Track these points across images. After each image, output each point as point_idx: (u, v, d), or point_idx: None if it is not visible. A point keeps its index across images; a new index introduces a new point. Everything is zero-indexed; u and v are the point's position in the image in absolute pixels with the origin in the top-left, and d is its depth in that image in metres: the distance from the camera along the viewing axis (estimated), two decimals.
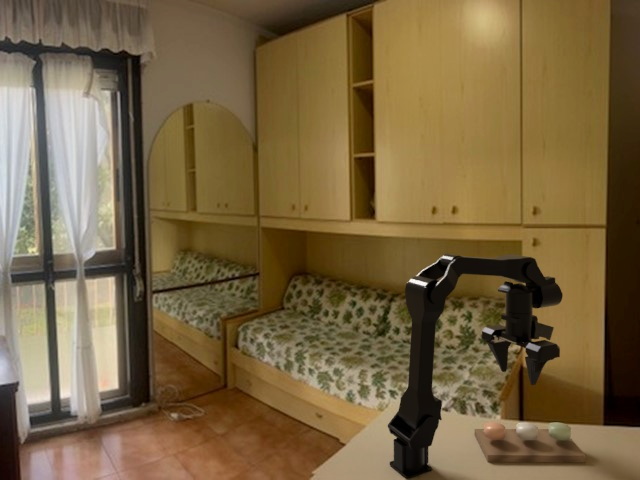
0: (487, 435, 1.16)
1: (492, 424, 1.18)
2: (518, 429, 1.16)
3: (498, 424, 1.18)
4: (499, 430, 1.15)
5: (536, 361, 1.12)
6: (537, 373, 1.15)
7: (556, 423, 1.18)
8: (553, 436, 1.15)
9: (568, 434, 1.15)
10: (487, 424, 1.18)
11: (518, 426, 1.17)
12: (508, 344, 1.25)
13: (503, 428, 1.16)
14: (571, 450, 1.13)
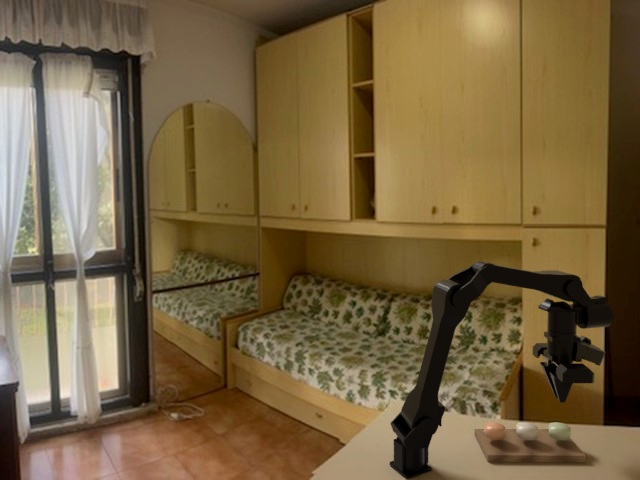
0: (487, 435, 1.16)
1: (492, 424, 1.18)
2: (518, 429, 1.16)
3: (498, 424, 1.18)
4: (499, 430, 1.15)
5: (557, 377, 1.11)
6: (564, 390, 1.13)
7: (556, 423, 1.18)
8: (553, 436, 1.15)
9: (568, 434, 1.15)
10: (487, 424, 1.18)
11: (518, 426, 1.17)
12: None
13: (503, 428, 1.16)
14: (571, 450, 1.13)
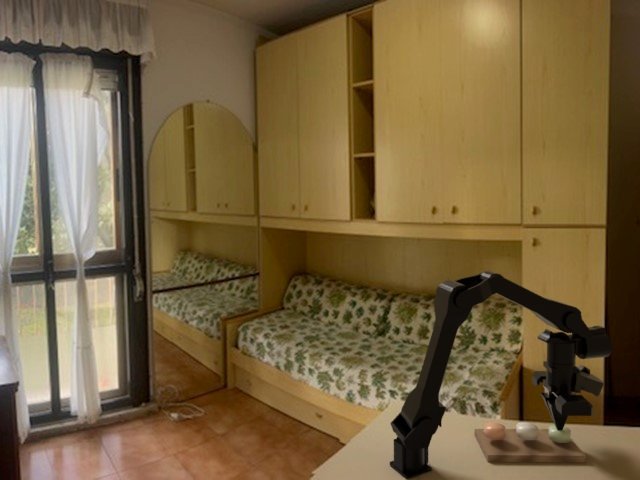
0: (487, 435, 1.16)
1: (492, 424, 1.18)
2: (518, 429, 1.16)
3: (498, 424, 1.18)
4: (499, 430, 1.15)
5: (554, 406, 1.12)
6: (562, 419, 1.15)
7: None
8: (553, 439, 1.15)
9: (568, 437, 1.15)
10: (487, 424, 1.18)
11: (518, 426, 1.17)
12: None
13: (503, 428, 1.16)
14: (571, 450, 1.13)
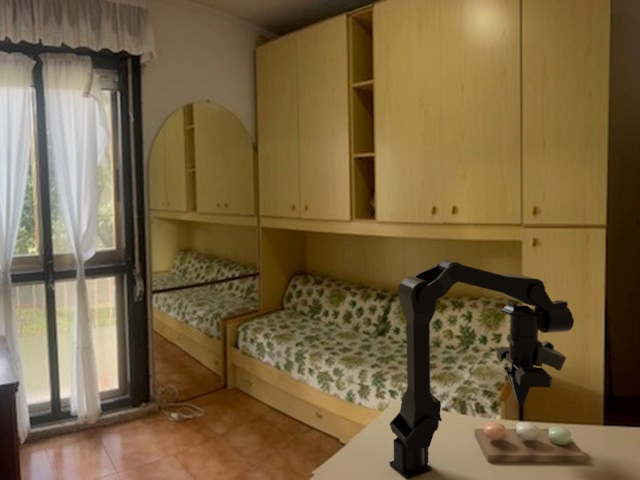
0: (487, 435, 1.16)
1: (492, 424, 1.18)
2: (518, 429, 1.16)
3: (498, 424, 1.18)
4: (499, 430, 1.15)
5: (515, 379, 1.12)
6: (523, 392, 1.15)
7: (556, 427, 1.18)
8: (553, 441, 1.15)
9: (568, 439, 1.15)
10: (487, 424, 1.18)
11: (518, 426, 1.17)
12: None
13: (503, 428, 1.16)
14: (571, 450, 1.13)
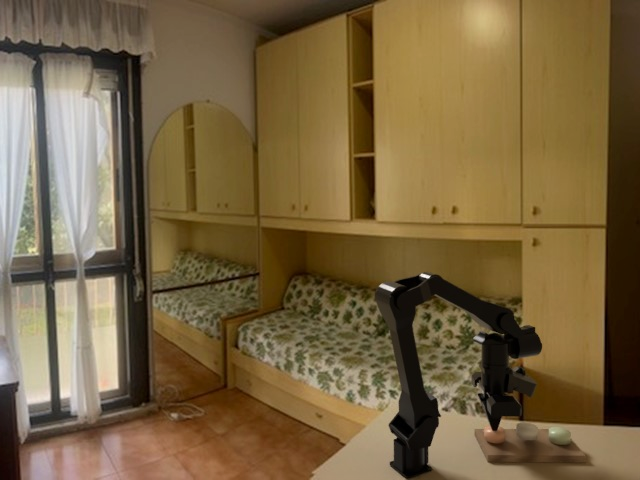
0: (487, 438, 1.16)
1: None
2: (518, 429, 1.16)
3: (498, 427, 1.18)
4: (499, 433, 1.15)
5: (487, 407, 1.13)
6: (496, 419, 1.16)
7: (556, 427, 1.18)
8: (553, 441, 1.15)
9: (568, 439, 1.15)
10: (487, 427, 1.18)
11: (518, 426, 1.17)
12: None
13: (503, 431, 1.16)
14: (571, 450, 1.13)
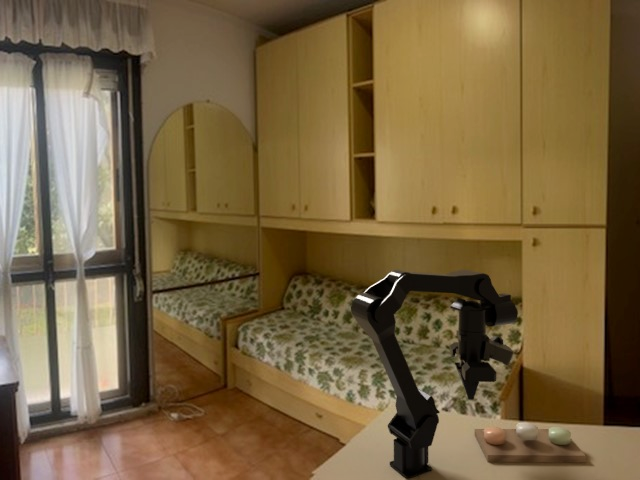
0: (487, 440, 1.16)
1: (492, 428, 1.19)
2: (518, 429, 1.16)
3: (498, 429, 1.18)
4: (499, 435, 1.15)
5: None
6: (472, 387, 1.14)
7: (556, 427, 1.18)
8: (553, 441, 1.15)
9: (568, 439, 1.15)
10: (487, 429, 1.18)
11: (518, 426, 1.17)
12: None
13: (503, 433, 1.16)
14: (571, 450, 1.13)
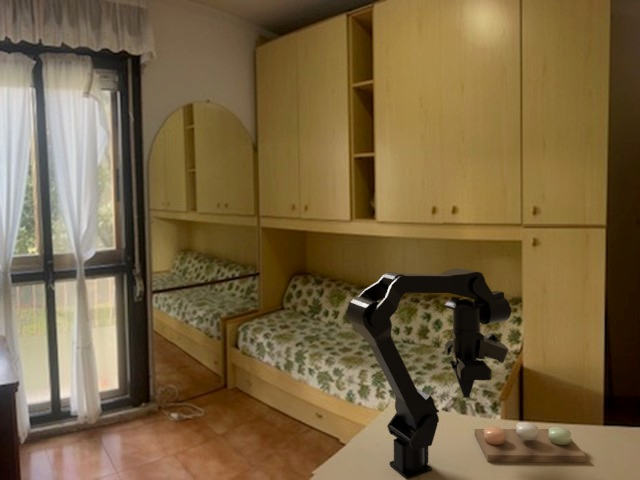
0: (487, 440, 1.16)
1: (492, 428, 1.19)
2: (518, 429, 1.16)
3: (498, 429, 1.18)
4: (499, 435, 1.15)
5: (458, 373, 1.12)
6: (467, 386, 1.14)
7: (556, 427, 1.18)
8: (553, 441, 1.15)
9: (568, 439, 1.15)
10: (487, 429, 1.18)
11: (518, 426, 1.17)
12: None
13: (503, 433, 1.16)
14: (571, 450, 1.13)
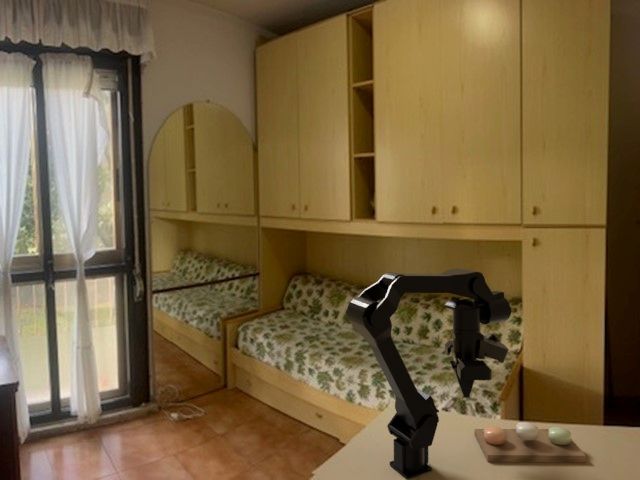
0: (487, 440, 1.16)
1: (492, 428, 1.19)
2: (518, 429, 1.16)
3: (498, 429, 1.18)
4: (499, 435, 1.15)
5: (458, 373, 1.12)
6: (467, 386, 1.14)
7: (556, 427, 1.18)
8: (553, 441, 1.15)
9: (568, 439, 1.15)
10: (487, 429, 1.18)
11: (518, 426, 1.17)
12: None
13: (503, 433, 1.16)
14: (571, 450, 1.13)
